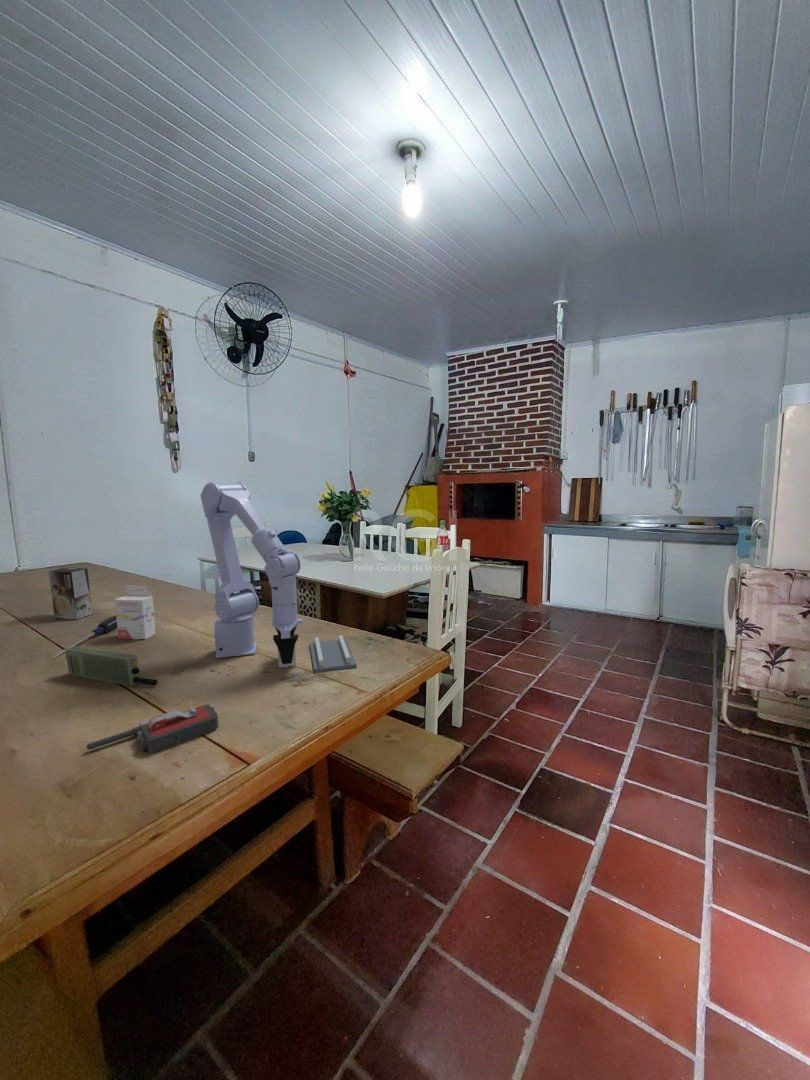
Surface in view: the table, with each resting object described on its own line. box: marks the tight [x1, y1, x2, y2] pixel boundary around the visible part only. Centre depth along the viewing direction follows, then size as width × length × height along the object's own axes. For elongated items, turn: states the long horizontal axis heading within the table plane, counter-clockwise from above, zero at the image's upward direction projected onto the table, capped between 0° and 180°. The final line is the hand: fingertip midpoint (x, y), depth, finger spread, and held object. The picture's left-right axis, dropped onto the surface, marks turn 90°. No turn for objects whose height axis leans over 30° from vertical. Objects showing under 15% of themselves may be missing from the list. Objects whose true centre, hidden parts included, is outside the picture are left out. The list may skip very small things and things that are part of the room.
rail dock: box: [309, 634, 358, 673], centre depth 114 cm, size 10×18×2 cm, turn 15°
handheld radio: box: [65, 645, 158, 687], centre depth 101 cm, size 7×3×25 cm
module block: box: [277, 646, 297, 668], centre depth 109 cm, size 4×4×6 cm
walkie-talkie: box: [86, 704, 219, 755], centre depth 78 cm, size 9×4×20 cm
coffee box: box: [48, 567, 93, 620], centre depth 148 cm, size 9×6×16 cm
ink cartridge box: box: [114, 584, 157, 640], centre depth 128 cm, size 9×5×15 cm, turn 84°
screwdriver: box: [52, 615, 117, 659], centre depth 126 cm, size 26×4×4 cm, turn 179°
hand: (287, 657), depth 109 cm, fingers open, 7 cm apart
